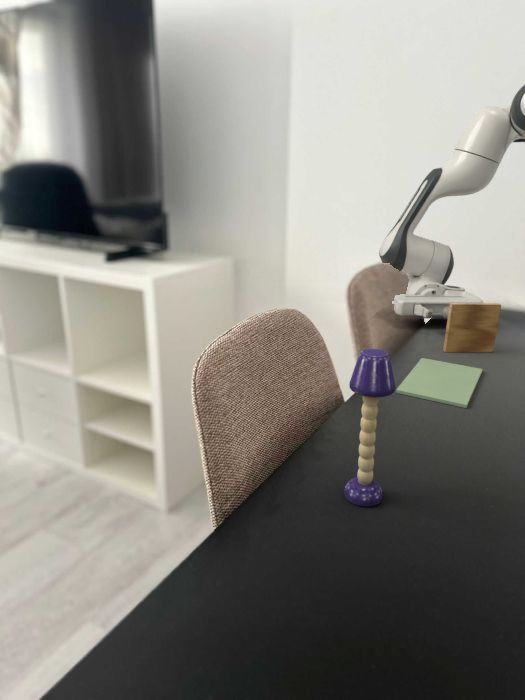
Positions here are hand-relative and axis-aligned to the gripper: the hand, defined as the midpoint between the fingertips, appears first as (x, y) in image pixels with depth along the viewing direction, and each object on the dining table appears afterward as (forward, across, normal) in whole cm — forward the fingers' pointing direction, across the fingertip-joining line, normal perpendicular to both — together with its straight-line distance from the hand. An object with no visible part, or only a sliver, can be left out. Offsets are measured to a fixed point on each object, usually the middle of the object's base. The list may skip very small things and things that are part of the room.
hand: (450, 314), depth 113 cm
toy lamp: (+59, -34, +5) cm, 68 cm away
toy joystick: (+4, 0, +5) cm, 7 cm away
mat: (+27, -12, +5) cm, 30 cm away
